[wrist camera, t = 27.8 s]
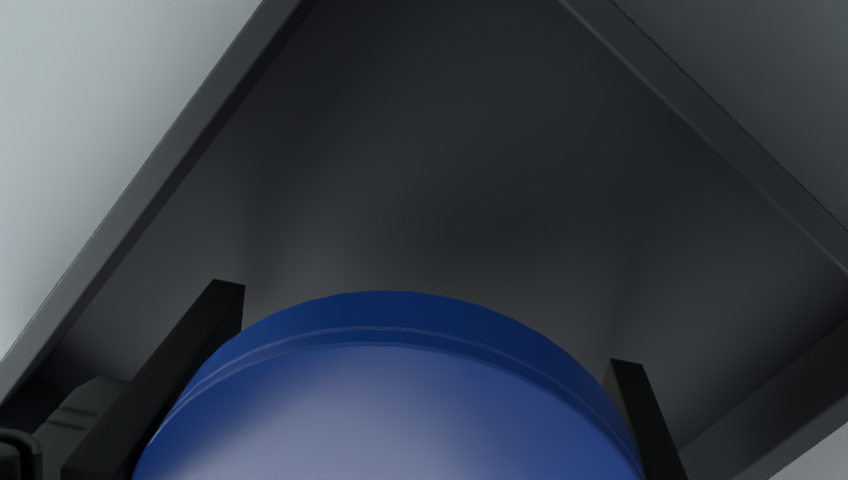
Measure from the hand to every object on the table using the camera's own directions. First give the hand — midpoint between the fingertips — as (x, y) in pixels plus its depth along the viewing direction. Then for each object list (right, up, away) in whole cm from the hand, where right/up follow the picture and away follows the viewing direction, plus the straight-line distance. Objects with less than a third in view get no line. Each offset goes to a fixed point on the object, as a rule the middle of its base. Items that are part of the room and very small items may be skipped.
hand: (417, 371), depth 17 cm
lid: (0, -2, -5) cm, 6 cm away
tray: (0, +1, +2) cm, 2 cm away
